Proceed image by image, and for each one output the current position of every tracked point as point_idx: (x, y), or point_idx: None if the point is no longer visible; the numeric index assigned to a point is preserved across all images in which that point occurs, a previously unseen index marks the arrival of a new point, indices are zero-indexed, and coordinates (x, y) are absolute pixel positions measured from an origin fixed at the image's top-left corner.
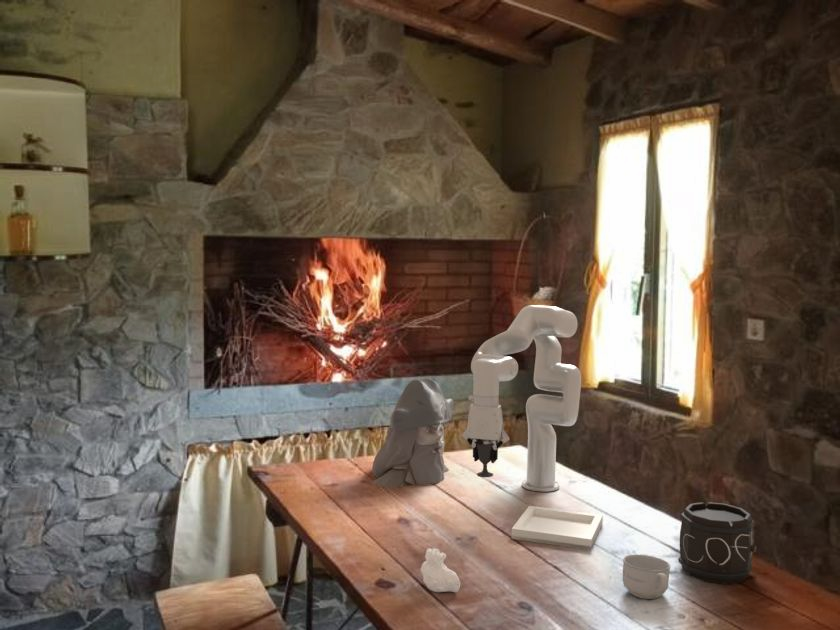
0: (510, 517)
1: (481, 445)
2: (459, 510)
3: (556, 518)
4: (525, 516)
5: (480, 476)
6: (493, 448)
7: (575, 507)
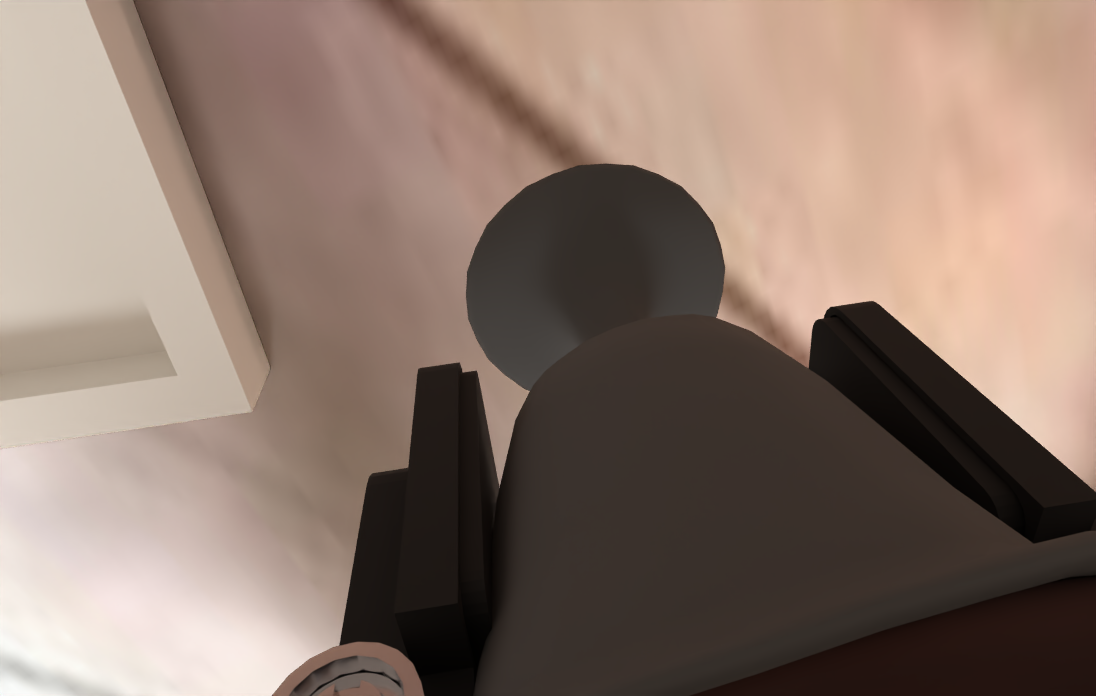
0: (363, 261)
1: (930, 571)
2: (778, 208)
3: (4, 359)
4: (97, 137)
5: (628, 165)
6: (403, 687)
7: (118, 623)
